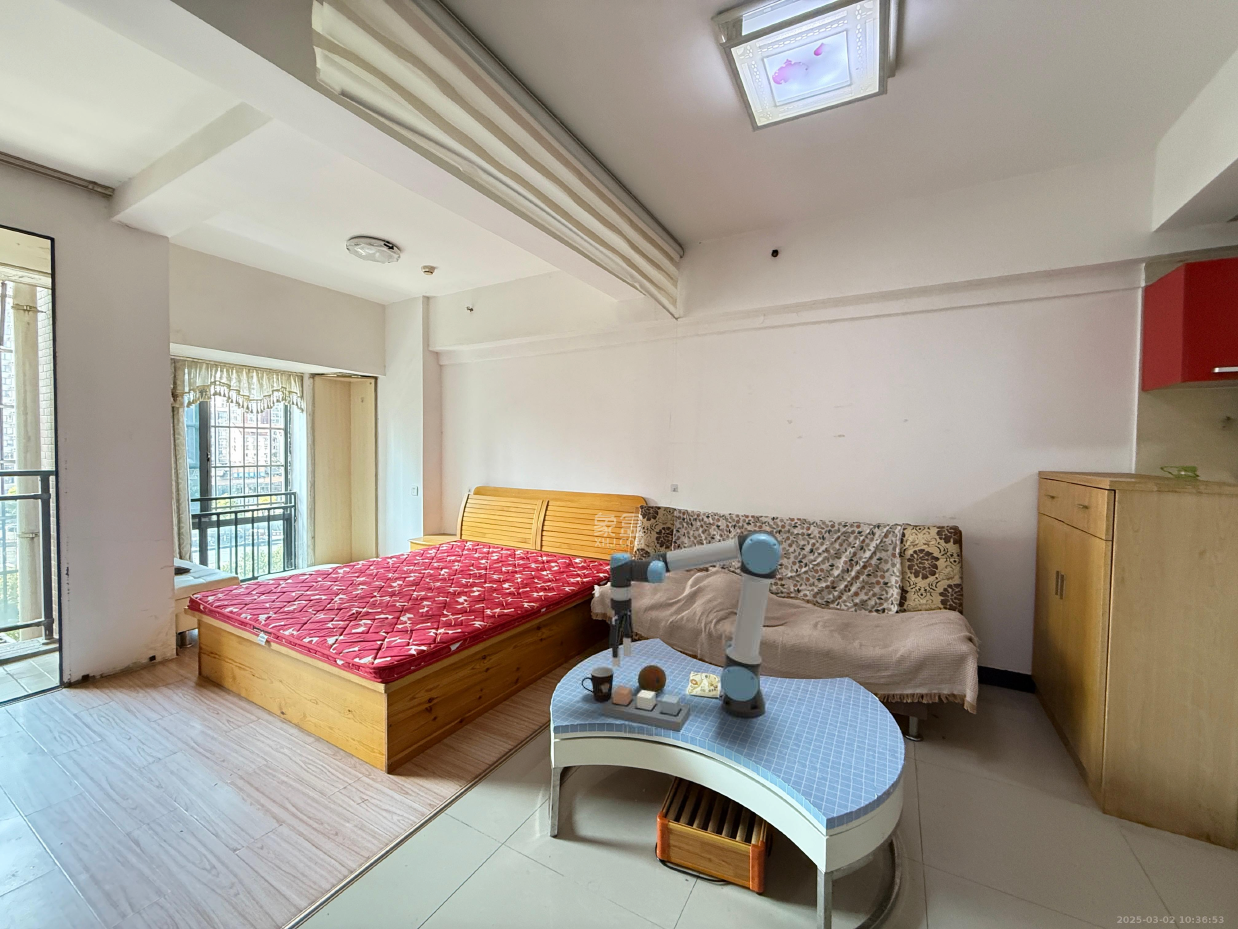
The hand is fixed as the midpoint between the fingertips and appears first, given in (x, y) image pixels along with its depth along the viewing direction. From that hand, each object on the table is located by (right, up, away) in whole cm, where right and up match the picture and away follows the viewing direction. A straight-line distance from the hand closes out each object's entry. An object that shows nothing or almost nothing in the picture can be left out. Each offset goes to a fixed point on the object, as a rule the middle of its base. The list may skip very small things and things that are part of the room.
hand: (621, 661), depth 178 cm
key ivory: (+8, -14, -4) cm, 17 cm away
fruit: (+11, -17, +15) cm, 26 cm away
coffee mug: (-9, -18, +9) cm, 22 cm away
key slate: (+17, -14, -7) cm, 23 cm away
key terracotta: (0, -14, 0) cm, 14 cm away
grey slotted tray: (+9, -17, -4) cm, 20 cm away
